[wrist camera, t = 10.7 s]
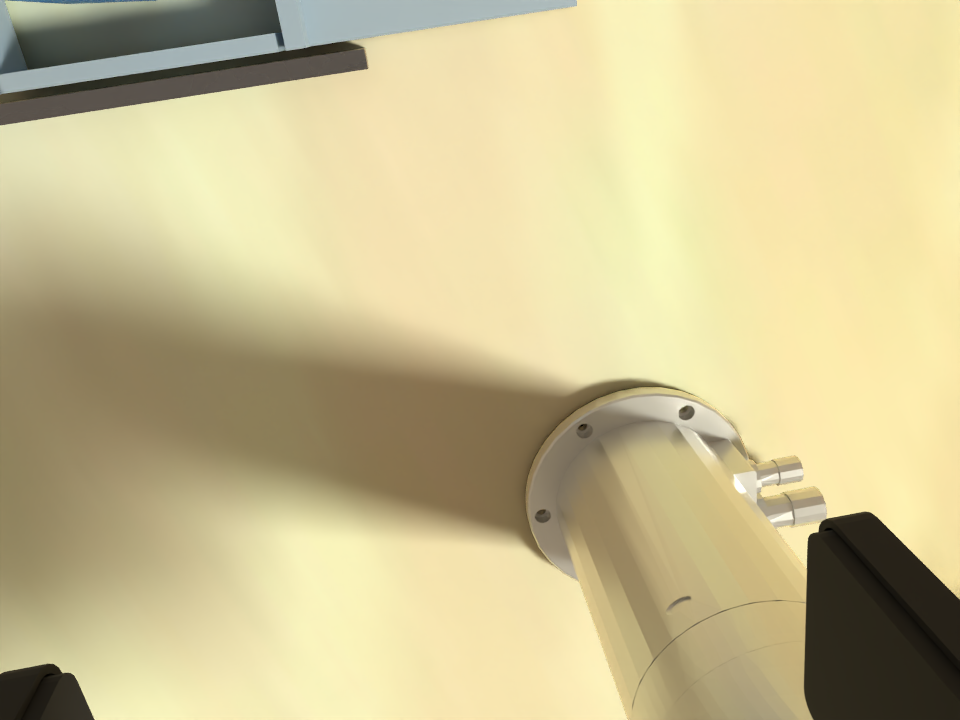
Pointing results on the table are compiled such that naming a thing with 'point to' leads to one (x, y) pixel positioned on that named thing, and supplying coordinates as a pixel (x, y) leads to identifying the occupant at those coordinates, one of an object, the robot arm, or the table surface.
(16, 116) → the lane rails
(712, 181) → the table surface
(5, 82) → the pale blue tray
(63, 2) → the water bottle
